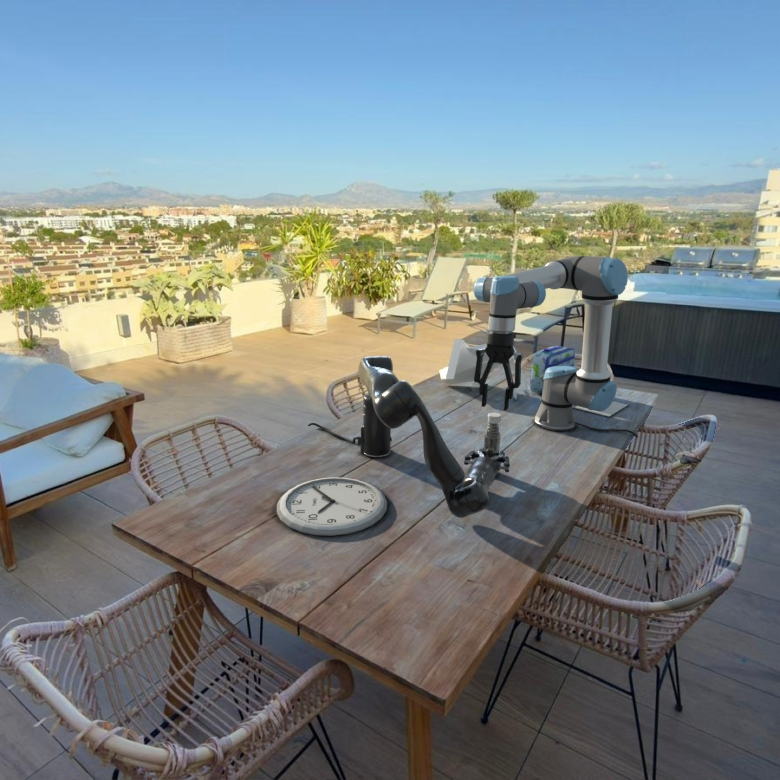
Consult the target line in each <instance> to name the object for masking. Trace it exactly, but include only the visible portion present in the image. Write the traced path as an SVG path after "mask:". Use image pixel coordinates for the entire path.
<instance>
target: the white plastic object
mask: <svg viewBox="0 0 780 780" xmlns="http://www.w3.org/2000/svg"><path fill="white" fill-rule="evenodd" d="M486 346H487V343H483V344H479V345H473V346H469V345H468V343H466V342H465V340H464V339H463V338H460V339H458V338H454V340H453V344H452V349H451V353H450V357H449V362H448V366H446V367H444V368H442V369H440V370H439V371H438V372H439V376H440V381H442V383H443V384H444V385H445V386H449V385H458V384H467V383H468V384H469V383H473V384H478V383H477V382H474V376H475V368H476V361H477V356H476V351H477V350H478V349H485V348H486ZM513 348H514V351H515V352H517V349H516V347H515V346H514V345H513ZM510 360H513V363H514V364H515V362H516V361H515V360H514V356H512V357H511V358H510V359H509V361H510ZM488 361H489V357H488V356H487V354H486V352H485V355H484V356H483V362H482V369H481V376H480V378H482V376H483V373H484V371H485V368H486V366H487V363H488ZM500 366H502V370H503V373H504V376H505V378H506V375H505V371H504V367H503V365H502V364H500V363H494V364H493V366H492V368H491V370H490V373H492V372H494V371H495V370H496V369H497V368H499V367H500ZM522 368H523V367H521V385H520V387H521V389H522V391H523V393H524V395H525V396H526V397H528V396H531V395H530V389H529V388H528V387H529V386H528V384H527V381H526V378H525V375H524V371H523V369H522ZM516 391H517V390H516V388H514V391H513V398H514V399H515V400H517V392H516Z"/></svg>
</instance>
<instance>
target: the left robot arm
mask: <svg viewBox="0 0 780 780" xmlns="http://www.w3.org/2000/svg"><path fill="white" fill-rule="evenodd" d="M357 369H358V370H357V371H358V376H359V380H360V382H361V384H362V385H363V386H364V387H365V388H366V394H364V395H363V397H362V412H363V413H362V414H363V416H362V425H361V427H360V434H359V435H358V436H355V437H353V438H352V440H350V439H347V438H345V437H343V436H341V435H340V434H337V433H336V432H333V431H331V430H330V429H329V428H327V427H325V426H322V425H320V424H318V423H317V422H310V423H308V424H307V427H311V426H315V427H317V428H319V429H321V430H324V431H326V432H327V433H329V434H330V435H332V436H334V437H336V438H338V439H340V440H342V441H345V442H348V443H351V444H355V443H356V441H357V445H358V446H360V454H363V456H366V457H369V458H374V459H381V458H385V457H388V456H389V455H390V454H391V451H392V450H391V449H392V447H391V444H392V442H393V441H392V436H391V435H392V432H391V431H392V430H395V429H398V428H400V427H402V426H403V425H405V424H406V423H407V422H409V421H410V420H411V419H413V417H417V420H418V422H419V424H420V428H421V431H422V447H423V458H424V462H425V465H426V467H427V469H428V470H429V472H430V473H431V474H432V476H433V478H434V479H435V480H436V482H437V483H438V484H439V486H440V489H441V491H442V493H443V496H444V499H445V501H446V505H447V508H448V511H449V512H450V513H451V514H452V515H453V516H454V517H456V518H458V519H464V518H467V517H469V516H472V515H474V514H477V513H479V512H482V511H484V510H485V509H486V508H487V507H488V506H489V504H490V498H489V489H490V487H491V486H492V484H493V483H494V481H495V477H496V476H497V475H498V472H499V471H501V470H503V471H505V473H510V466H511V463H510V457H509V456H508V455H506V452H505V451H504V450H499V455H498V456H494V457H491V458H489V457H486V456H484V455H483V454H484V446H483V447H482V448H479V450H478V451H475V450H471V451H470V452H469V453H467V454H466V455H464V459H463V465H465V466H468V465H470V466H469V468H468V470H467V472H466V474H465V471H464V469H463V468H462V466H461V465H460V464H459V462H458V461H457V459H456V458H455V456H454V454H453V453H452V452H451V450H450V449H449V447H448V446H447V444H446V442H445V440H444V438H443V437H442V435H441V432H440V431H439V429H438V427H437V425H436V423H435V421H434V419H433V418H432V415H431V414H430V412H429V411H428V408H427V407H426V406H425V403H424V402H423V400H422V398H421V396H420V395H419V393H418V392H417V391H416V389H415V388H414V387H413V386H412V384H410V383H409V382H408V381H406V380H404V379H401V380H399V378H398V377H397V375H396V374H395V373H394V363H393V360H392V358H391V357H390V356H389V355H388V356H387V355H386V356H385V355H384V356H383V355H382V356H378V355H377V356H376V355H375V356H364V357H362V358H361V359H360V360H359V364H358V368H357ZM505 455H506V456H505ZM496 474H497V475H496ZM460 484H461V488H459V489H457V487H459V485H460Z"/></svg>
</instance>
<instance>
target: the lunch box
mask: <svg viewBox="0 0 780 780" xmlns="http://www.w3.org/2000/svg"><path fill="white" fill-rule="evenodd" d="M575 352H576V351H575V349H574V348H573V347H567V346H561V345H553V346H549V347H547V348H543V349H541V350H538V351H537V352H535V353H534V355H533V357H532V359H531V366H530V379H529V391H531V392H532V393H537V394H542V391H543V382H544V379H543V378H544V374H545V371H546V369H547V368H550V367H554V366H572V367H575V357H576V354H575Z"/></svg>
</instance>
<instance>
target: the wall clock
mask: <svg viewBox="0 0 780 780" xmlns="http://www.w3.org/2000/svg"><path fill="white" fill-rule="evenodd" d="M387 509H388V500H387V498H386V496H385V494H384V493H383V492H382V491H381V490H380V489H379V488H377V487H376V486H374V485H372V484H371V483H369V482H365V481H362V480H359V479H355V478H349V477H338V476H337V477H335V476H333V477H332V476H331V477H322V478H317V479H312V480H307V481H305V482H302V483H299V484H297V485H295V486H293V487H292V488H290V489H288V490H287V491H286V492H285V493H284V494H283V495H281V496H280V498H279V499H278V502H277V503H276V515H277V517H278V518H279V520H280V521H281V522H282V523H283V524H285V525H286V526H287V527H288V528H290V529H293V530H295V531H297V532H299V533H303V534H308V535H312V536H327V537H328V536H329V537H331V536H332V537H333V536H342V535H350V534H352V533H356V532H361V531H363V530H366V529H368V528H369V527H372V526H373V525H375V524H376V523H378V522H379V521H380V520H381V519H382V518H383V517H384V516H385V514H386V512H387Z"/></svg>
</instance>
